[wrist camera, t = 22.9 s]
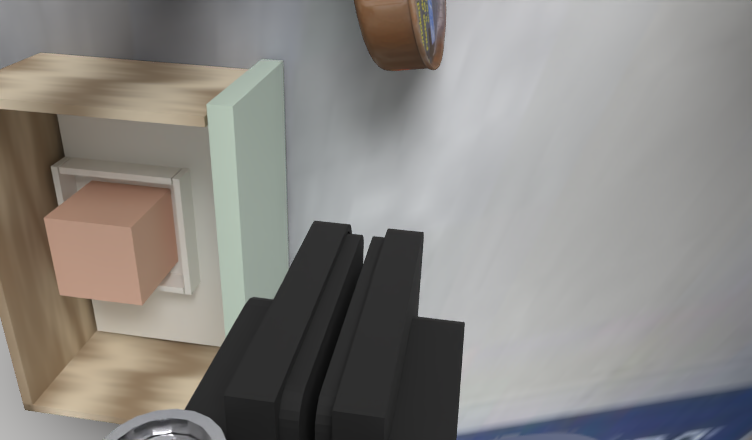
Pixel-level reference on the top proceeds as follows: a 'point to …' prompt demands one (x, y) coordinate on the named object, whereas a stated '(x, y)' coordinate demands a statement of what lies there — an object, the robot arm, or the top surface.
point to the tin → (403, 32)
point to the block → (112, 242)
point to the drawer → (197, 204)
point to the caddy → (32, 251)
